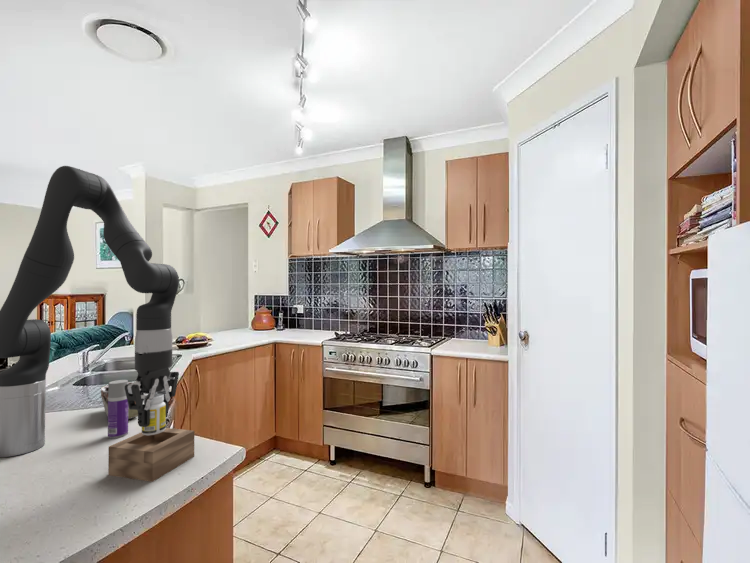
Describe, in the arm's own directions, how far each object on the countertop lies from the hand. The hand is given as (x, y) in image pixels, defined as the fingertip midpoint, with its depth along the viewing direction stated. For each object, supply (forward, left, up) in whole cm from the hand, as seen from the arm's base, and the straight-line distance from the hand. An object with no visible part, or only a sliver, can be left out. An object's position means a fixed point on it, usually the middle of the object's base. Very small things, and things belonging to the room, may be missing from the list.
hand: (153, 421), depth 84 cm
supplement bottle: (0, 0, -3) cm, 3 cm away
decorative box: (-40, +28, -10) cm, 49 cm away
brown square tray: (0, 0, -10) cm, 10 cm away
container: (-24, +14, -10) cm, 30 cm away
